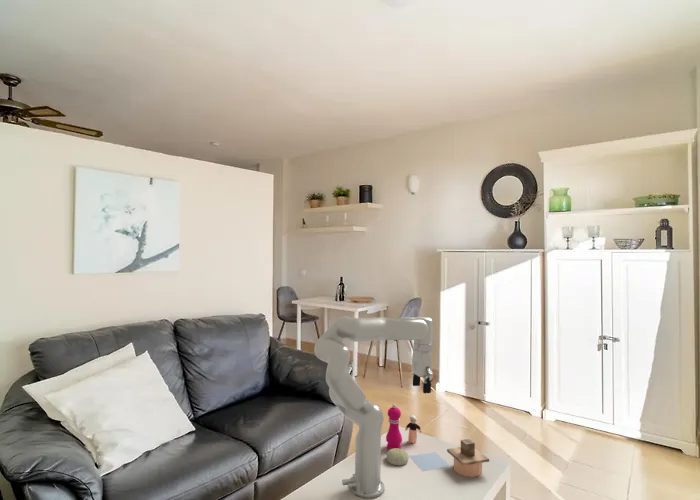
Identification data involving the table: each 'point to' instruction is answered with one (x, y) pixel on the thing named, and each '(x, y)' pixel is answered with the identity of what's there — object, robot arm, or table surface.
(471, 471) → the bowl
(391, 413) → the pepper mill
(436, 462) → the mat
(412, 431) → the grandmother figurine
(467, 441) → the lid
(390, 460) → the sea urchin shell
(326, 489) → the table surface
